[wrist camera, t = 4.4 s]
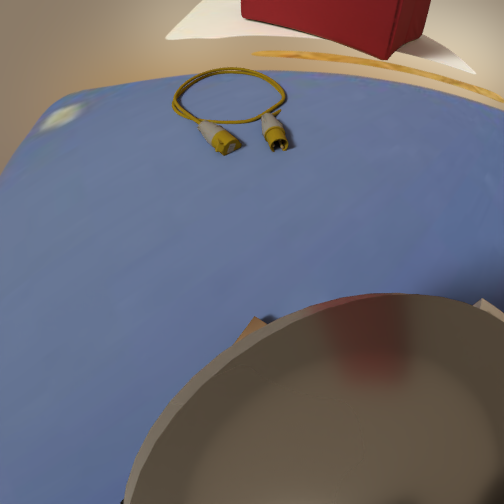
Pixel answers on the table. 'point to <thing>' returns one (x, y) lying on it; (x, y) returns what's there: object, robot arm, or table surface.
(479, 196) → the table surface
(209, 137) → the extension cord
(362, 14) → the storage cube
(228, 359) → the shiny metal canister
